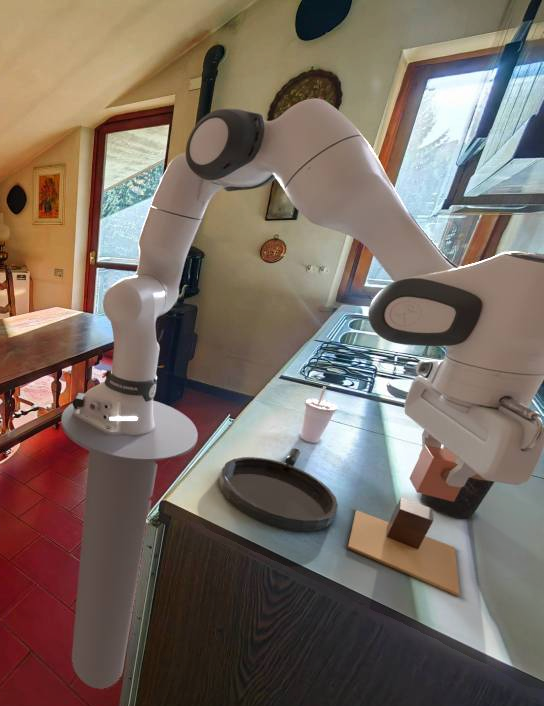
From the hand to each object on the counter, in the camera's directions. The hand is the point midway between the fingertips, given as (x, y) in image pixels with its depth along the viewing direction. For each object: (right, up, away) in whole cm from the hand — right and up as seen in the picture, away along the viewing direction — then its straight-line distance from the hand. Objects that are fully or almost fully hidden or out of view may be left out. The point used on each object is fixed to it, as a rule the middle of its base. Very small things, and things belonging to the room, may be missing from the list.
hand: (439, 471), depth 56 cm
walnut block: (+4, -13, +10) cm, 17 cm away
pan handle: (-2, -5, +30) cm, 30 cm away
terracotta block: (0, -3, +1) cm, 3 cm away
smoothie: (+10, -1, +41) cm, 42 cm away
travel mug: (+21, -11, +18) cm, 30 cm away
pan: (-11, -9, +20) cm, 25 cm away
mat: (+2, -15, +8) cm, 17 cm away
